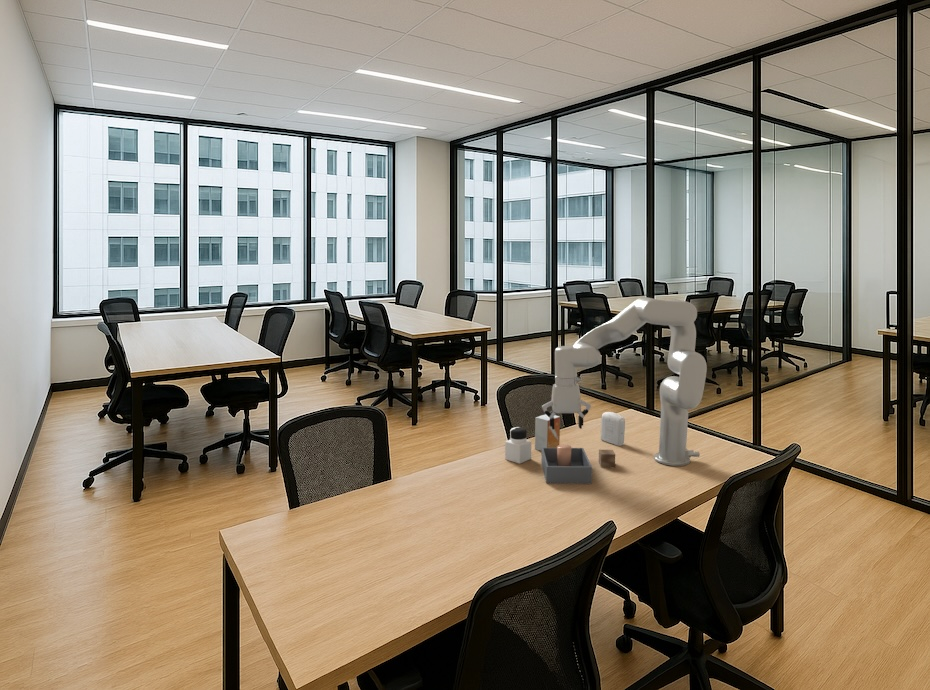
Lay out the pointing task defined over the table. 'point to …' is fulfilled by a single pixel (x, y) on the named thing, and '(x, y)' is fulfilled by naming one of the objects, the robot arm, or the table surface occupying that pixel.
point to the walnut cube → (606, 458)
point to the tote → (566, 467)
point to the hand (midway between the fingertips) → (566, 427)
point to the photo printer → (612, 428)
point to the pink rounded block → (563, 455)
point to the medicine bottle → (518, 446)
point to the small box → (546, 432)
